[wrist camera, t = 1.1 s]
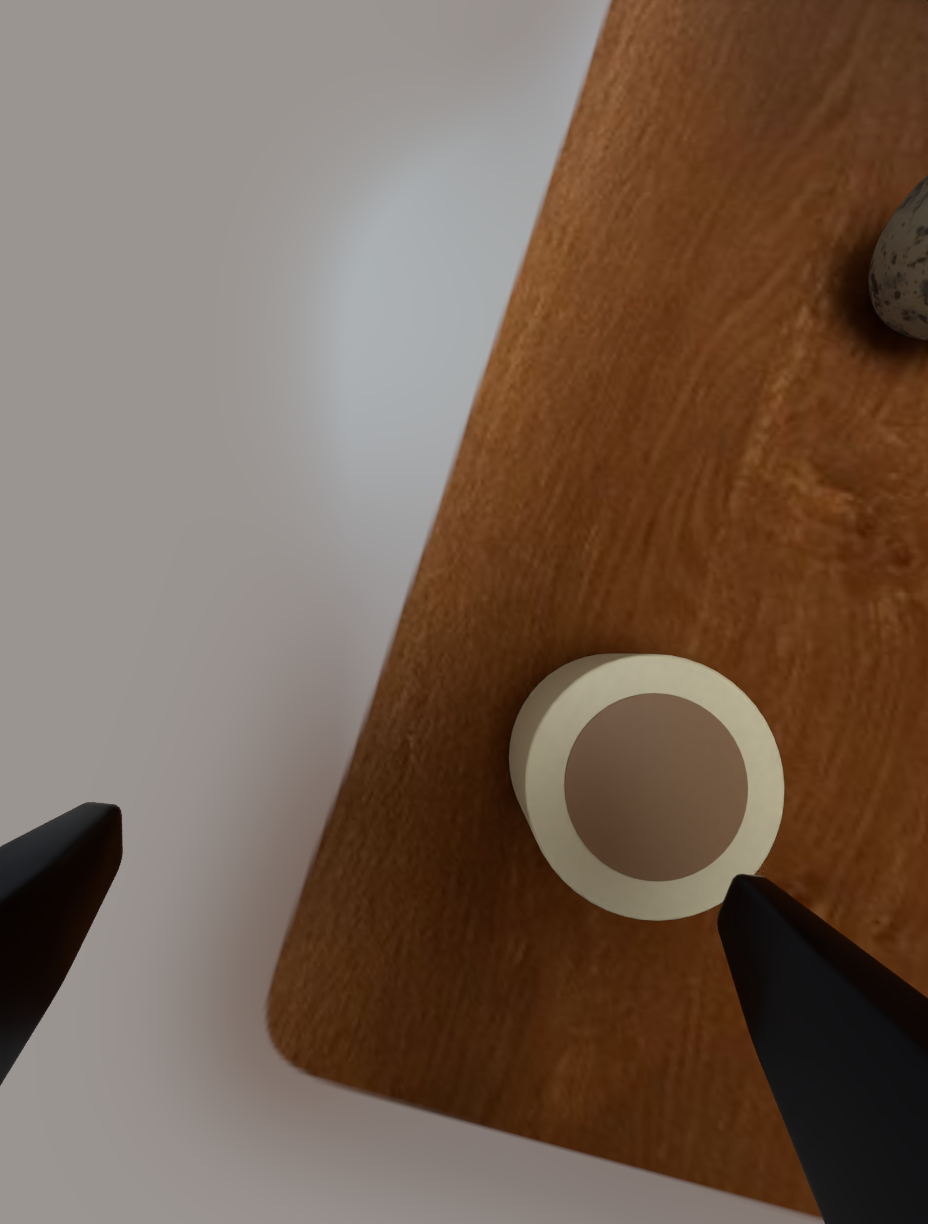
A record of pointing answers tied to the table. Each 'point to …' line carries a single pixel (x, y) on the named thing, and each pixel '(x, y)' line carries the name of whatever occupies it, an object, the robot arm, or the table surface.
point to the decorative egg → (903, 267)
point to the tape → (647, 782)
